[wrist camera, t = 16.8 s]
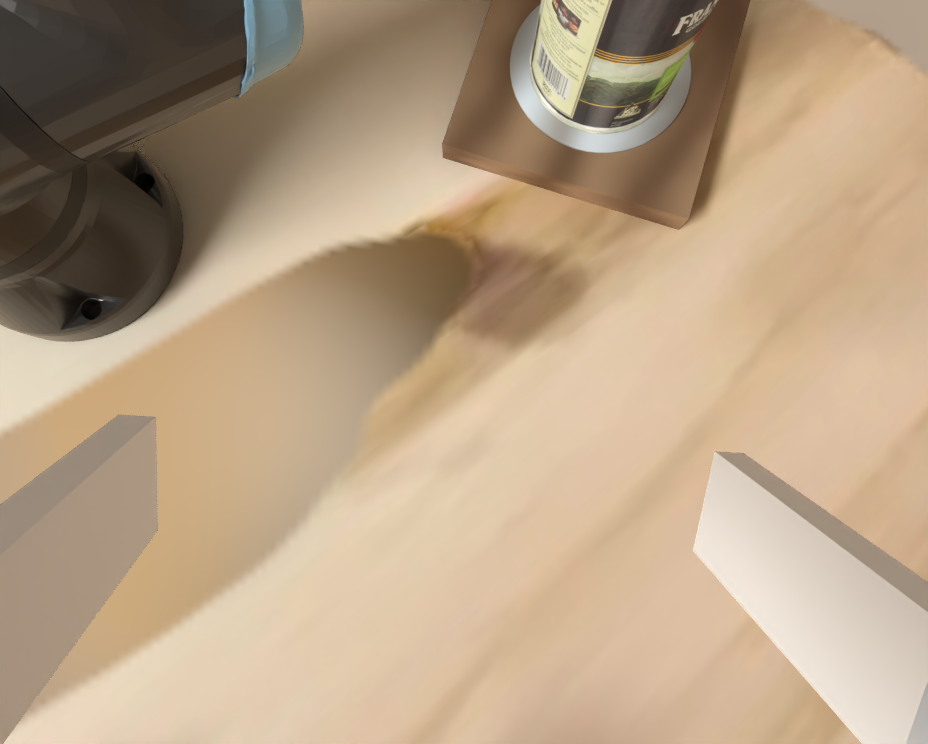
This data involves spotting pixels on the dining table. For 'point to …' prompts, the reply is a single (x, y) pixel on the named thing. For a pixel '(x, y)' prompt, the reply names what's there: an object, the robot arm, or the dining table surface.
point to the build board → (583, 153)
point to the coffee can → (611, 58)
